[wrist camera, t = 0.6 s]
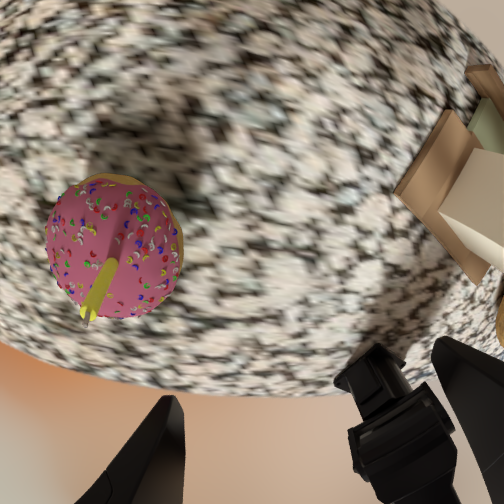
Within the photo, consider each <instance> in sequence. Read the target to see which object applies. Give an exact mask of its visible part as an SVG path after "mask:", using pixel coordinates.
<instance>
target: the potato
mask: <svg viewBox="0 0 504 504" xmlns="http://www.w3.org/2000/svg"><path fill="white" fill-rule="evenodd" d="M496 334H497V337H498V340H499V342H500V345H501V346H502V347H503V348H504V296H503V298H502V301H501V304H500V307H499V310H498V314H497V317H496Z"/></svg>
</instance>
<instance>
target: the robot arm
mask: <svg viewBox="0 0 504 504" xmlns="http://www.w3.org/2000/svg"><path fill="white" fill-rule="evenodd" d="M431 361H432V364H433V366H434V368H435V371H436V373H437V376H438V378H439V380H440V383H441V386H442V388H443V390H444V393H445V395H446V397H447V399H448V401H449V403H450V405H451V407H452V408H453V411H454V412H455V414H456V416H457V419H458V421H459V423H460V425H461V427H462V429H463V431H464V433H465V436H466V438H467V440H468V442H469V444H470V447H471V449H472V451H473V454H474V456H475V458H476V461H477V463H478V466H479V468H480V471H481V473H482V476H483V479H484V481H485V484H486V486H487V490H488V492H489V495H490V498H491V501H492V504H504V362H503V361H501V360H499V359H497V358H495V357H493V356H490V355H488V354H486V353H484V352H482V351H479V350H477V349H475V348H473V347H471V346H468V345H466V344H464V343H462V342H459V341H457V340H455V339H453V338H451V337H448V336H442V337H440V338H437V339H436V341H435V343H434V346H433V350H432V353H431ZM405 365H406V362H405V361H404V360H403V359H402V358H400V357H399V356H397V355H396V354H395V353H393V352H392V351H390V350H389V349H387V348H386V347H384V346H383V345H381V344H380V343H378V344H376V345H374V346H373V347H372V348H371V349H370V350H369V351H368V352H367V353H366V354H365V355H363V356H362V357H361V358H360V359H359V360H358V361H357V362H356V363H354V364H353V365H352V366H351V367H350V368H349V369H347V370H346V371H345V372H344V373H343V374H342V375H340V376H339V377H338V378H337V379H335V380H334V382H333V384H334V386H335V387H337V388H339V389H342V390H344V391H347V392H349V393H351V394H352V396H353V398H354V400H355V402H356V405H357V407H358V409H359V412H360V415H361V417H362V419H363V423H361V424H359V425H357V426H355V427H352V428H350V429H348V430H347V431H348V435H349V436H348V440H349V445H350V450H351V455H352V460H353V470H354V472H355V473H358V474H360V476H361V477H362V478H363V480H364V481H366V482H370V483H371V485H372V487H373V489H374V490H375V493H376V496H377V499H378V500H379V501H381V502H382V503H384V504H461V502H460V499H459V497H458V495H457V493H456V491H455V489H454V487H453V479H454V473H455V467H456V462H457V448H456V446H455V444H454V442H453V440H452V438H451V437H450V434H452V433H453V432H454V431H455V427H454V425H453V423H452V421H451V419H450V417H449V415H448V414H447V412H446V410H445V409H444V407H443V406H442V404H441V403H440V401H439V400H438V398H437V397H436V396H435V394H434V393H433V391H432V390H431V389H430V387H429V386H428V384H427V383H426V382H425V381H424V382H423V383H422V384H421V385H420V386H419V387H417V388H416V389H415V390H413V389H412V388H411V386H410V384H409V383H408V381H407V379H406V378H405V376H404V375H403V373H402V371H401V369H402V368H403V367H404V366H405ZM185 455H186V452H185V431H184V412H183V409H182V407H181V406H180V403H179V402H178V400H177V398H176V397H175V396H174V395H164V396H162V397H161V398H160V399H159V400H158V402H157V403H156V405H155V406H154V407H153V408H152V410H151V411H150V412H149V414H148V415H147V416H146V418H145V419H144V420H143V421H142V423H141V424H140V425H139V427H138V428H137V429H136V431H135V432H134V433H133V434H132V436H131V437H130V438H129V440H128V441H127V442H126V443H125V445H124V446H123V447H122V449H121V450H120V451H119V453H118V454H117V455H116V457H115V458H114V459H113V460H112V461H111V463H110V464H109V465H108V467H107V468H106V470H104V472H103V473H102V474H101V475H100V477H99V478H98V479H97V480H96V481H95V483H94V484H93V485H92V486H91V487H90V488H89V489H88V491H86V492H85V494H84V495H83V496H82V497H81V498H80V499H79V500H77V501H76V502H75V503H74V504H182V503H183V487H184V470H185Z"/></svg>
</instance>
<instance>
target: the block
mask: <svg viewBox="0 0 504 504" xmlns="http://www.w3.org/2000/svg"><path fill="white" fill-rule="evenodd" d="M438 212H439V213H440V215H441V216H442V217H443V218H444V220H445V221H446V222H447V223H448V225H449V226H450V227H451V228H452V230H453V231H454V232H455V234H456V235H457V236H458V238H459V239H460V240H461V242H462V243H463V244H464V246H465V247H466V248H467V249H469V250H470V251H472V252H473V253H475V254H476V255H478V256H479V257H481V258H482V259H484V260H485V261H487V262H488V263H490V264H491V265H492V266H494V267H495V268H497V269H498V270H499V271H501V272H502V273H504V155H503V154H499V153H495V152H491V151H487V150H483V149H478V148H474V149H473V151H472V153H471V155H470V157H469V159H468V161H467V162H466V164H465V166H464V168H463V170H462V171H461V173H460V175H459V177H458V178H457V180H456V182H455V184H454V185H453V187H452V189H451V190H450V192H449V194H448V195H447V197H446V198H445V200H444V202H443V203H442V205H441V206H440V208H439V209H438Z"/></svg>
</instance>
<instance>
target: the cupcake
mask: <svg viewBox="0 0 504 504" xmlns="http://www.w3.org/2000/svg"><path fill="white" fill-rule="evenodd" d="M59 198H60V199H59ZM45 232H46V237H45V242H46V247H47V249H46V248H45V250H46V251H47V254H48V259H47V260H48V262H49V264H50V269H51V271H53V273H54V274H53V276H54V277H55V279H56V280H57V285H58V286H59V287H60V286H61V287H60V288H63V289H64V290H65V292H66V293H67V295H68V296H70V297H71V300H72V301H74V303H75V304H76V305H78V304H79V305H80V307H81V308H80V315H81V316H82V318H83V322H82V325H83V327H84V328H87V327H88V323H89V321H93V320H95V318H96V317H97V316H99V317H103V316H105V317H107V318H108V319H112V318H113V319H116V320H118V319H124V318H127V317H134V316H138V318H140V317H141V315H142V314H145V313H148V312H151V310H153V309H154V308H155V307H156V306H157V305H159V304H160V303H161V302H162V301H163V300H165V299H166V298H167V297H168V296H170V295H171V294H170V293H171V292H172V291H173V289H174V287H175V285H176V282H177V278H178V276H179V274H180V271H181V268H182V263H183V257H184V249H183V233H182V229H181V227H180V225H179V223H178V222H177V220H176V219H175V217H174V215H173V214H172V212H171V210H170V208H169V206H168V204H167V202H166V201H165V200H164V199H163V198H162V197H161V196H160V195H159V194H157V193H156V192H155V191H154V190H153V189H151V188H149V187H148V186H146V185H144V184H143V183H141V182H140V181H138V180H137V179H135V178H133V177H130V176H126V175H117V174H110V173H100V174H96V175H93V176H91V177H89V178H87V179H85V180H83V181H82V182H80V183H79V184H77V185H73V186H71V187H69V188H68V189H67V190H66V191H65V192H64V193H63V194H62V195H61V196H59V197H58V202H57V203H56V205H55V207H54V208H53V210H52V212H51V214H50V216H49V219H48V222H47V226H45ZM58 283H59V284H58Z"/></svg>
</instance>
